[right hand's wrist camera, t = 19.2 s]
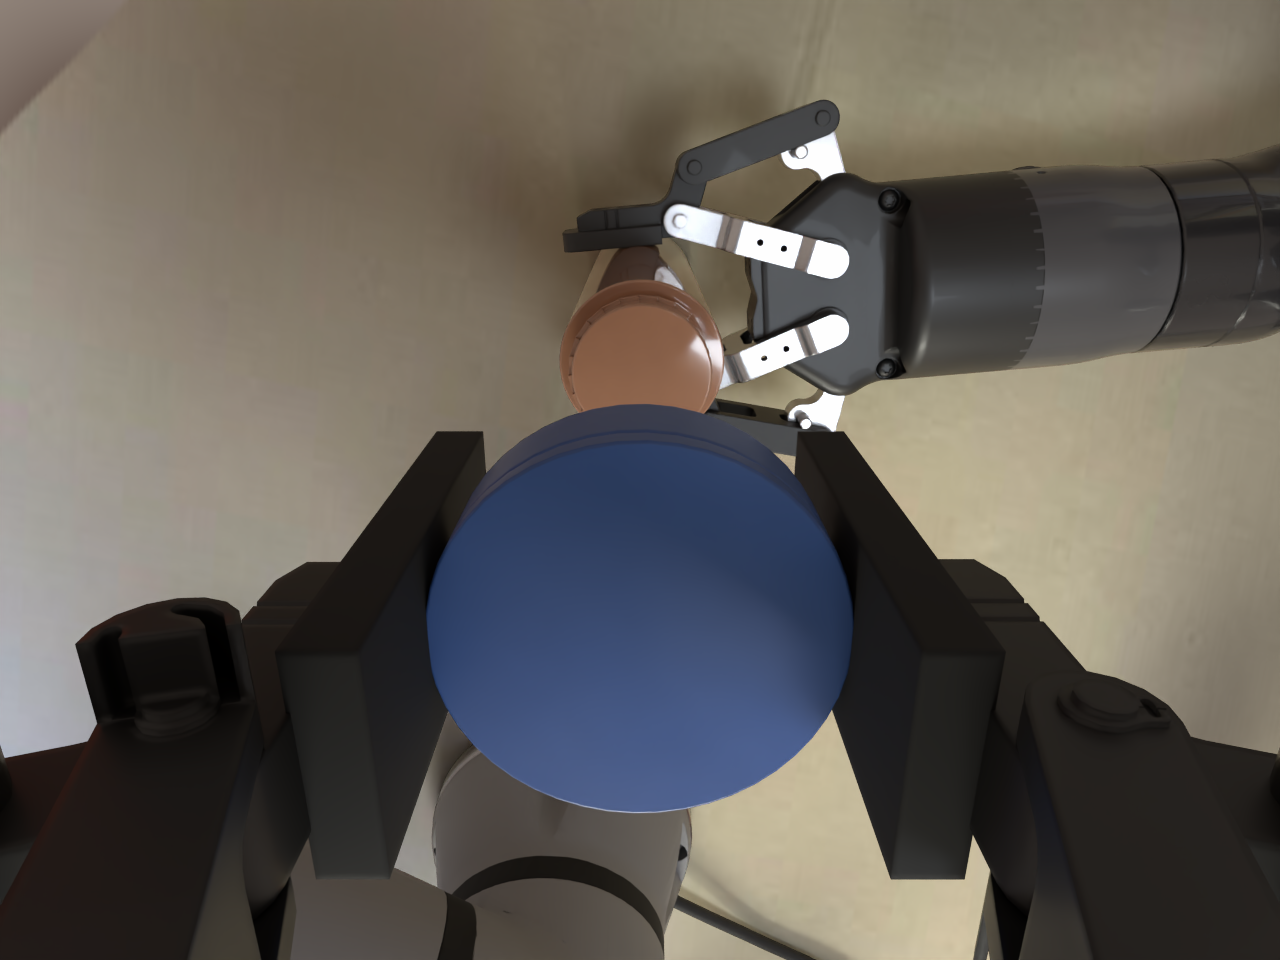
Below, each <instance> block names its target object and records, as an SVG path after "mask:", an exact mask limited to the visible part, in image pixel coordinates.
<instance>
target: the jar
mask: <svg viewBox="0 0 1280 960" xmlns="http://www.w3.org/2000/svg"><path fill="white" fill-rule="evenodd" d="M560 372H561V378H562V382H563V385H564V388H565V391H566V393H567V395H568V398H569V399H570V401H571V402H572V404H573V406H574V407H575V408H576V410H577V411H578V412H579V413H581V412H584V411H588V410H591V409H596V408H602V407H608V406H615V405H625V404H653V405H664V406H674V407H678V408H683V409H687V410H691V411H696V412H700V413H703V414H704V413H705V412H706V411H707V410H708V408H709V407H710V405H711V404H712V402H713V401H714V399H715V397H716V395H717V393H718V391H719V388H720V385H721V382H722V377H723V372H724V348H723V344H722V339H721V336H720V333H719V331H718V328H717V326H716V323H715V321H714V319H713V317H712V314H711V312H710V310H709V308H708V305H707V303H706V301H705V299H704V296H703V294H702V292H701V290H700V287H699V285H698V283H697V281H696V278H695V276H694V274H693V272H692V269H691V267H690V265H689V263H688V260H687V258H686V256H685V254H684V252H683V251H682V250H681V248H680V247H679V246H678V245H677V244H676V243H675V242H674V241H673V240H672V239H671V238H662V244H661V245H650V246H635V247H627V248H616V249H604V250H601V251H600V253H599V255H598V257H597V259H596V261H595V263H594V266H593V268H592V270H591V273H590V275H589V277H588V279H587V282H586V284H585V286H584V289H583V291H582V293H581V296H580V298H579V300H578V302H577V305H576V307H575V309H574V312H573V314H572V316H571V319H570V321H569V323H568V326H567V328H566V330H565V333H564V335H563V339H562V343H561V348H560Z"/></svg>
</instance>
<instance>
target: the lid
mask: <svg viewBox="0 0 1280 960" xmlns="http://www.w3.org/2000/svg"><path fill="white" fill-rule="evenodd" d="M426 621H427V632H428V642H429V651H430V660H431V668H432V674H433V678H434V681H435V684H436V687H437V689H438V691H439V693H440V695H441V698H442V700H443V702H444V704H445V706H446V708H447V710H448V711H449V713H450V714H451V716H452V717H453V719H454V721H455V722H456V724H457V725H458V727H459V728H460V729H461V731H462V732H463V733H464V734H465V735H466V736H467V738H468V739H469V740H470V741H471V742H472V744H473V745H474V746H475V747H476V748H477V749H478V750H479V751H480V752H482V753H483V754H484V755H485V756H486V757H487V758H488V759H489V760H490V761H491V762H492V763H494V764H495V765H496V766H498V767H499V768H501V769H502V770H503V771H505V772H506V773H508V774H509V775H510V776H512V777H513V778H515V779H517V780H519V781H520V782H522V783H524V784H526V785H528V786H529V787H531V788H533V789H535V790H537V791H540V792H542V793H544V794H547V795H549V796H551V797H554V798H556V799H559V800H562V801H566V802H569V803H572V804H576V805H579V806H582V807H588V808H593V809H598V810H604V811H612V812H624V813H659V812H667V811H675V810H682V809H687V808H692V807H696V806H700V805H704V804H708V803H711V802H714V801H717V800H720V799H723V798H725V797H728V796H731V795H734V794H736V793H738V792H740V791H742V790H744V789H746V788H748V787H750V786H752V785H754V784H756V783H758V782H759V781H761V780H762V779H764V778H766V777H767V776H769V775H770V774H772V773H774V772H775V771H777V770H778V769H779V768H780V767H782V766H783V765H784V764H785V763H787V762H788V761H789V760H790V759H791V758H793V757H794V756H795V755H796V754H797V753H798V752H799V751H800V750H801V749H802V748H803V747H804V746H805V745H806V744H807V743H808V742H809V741H810V740H811V739H812V738H813V736H814V735H815V734H816V732H817V731H818V730H819V728H820V727H821V726H822V724H823V723H824V721H825V720H826V719H827V717H828V715H829V714H830V712H831V710H832V708H833V706H834V705H835V703H836V701H837V699H838V697H839V695H840V692H841V690H842V687H843V684H844V682H845V679H846V676H847V674H848V669H849V664H850V655H851V646H852V636H853V626H854V611H853V600H852V596H851V592H850V587H849V583H848V579H847V575H846V573H845V570H844V568H843V565H842V563H841V561H840V558H839V556H838V553H837V551H836V549H835V547H834V545H833V543H832V541H831V539H830V537H829V535H828V533H827V531H826V529H825V527H824V525H823V523H822V521H821V519H820V517H819V515H818V513H817V511H816V509H815V507H814V505H813V503H812V501H811V500H810V498H809V496H808V495H807V493H806V491H805V489H804V488H803V486H802V484H801V483H800V482H799V481H798V479H797V478H796V477H795V476H794V474H793V473H792V472H791V471H790V469H789V468H788V467H787V466H786V465H785V464H784V463H783V462H782V461H781V460H780V459H779V458H778V457H777V456H776V455H775V454H774V453H773V452H772V451H770V450H769V449H768V448H767V447H766V446H764V445H763V444H761V443H760V442H759V441H757V440H756V439H754V438H753V437H752V436H750V435H749V434H747V433H745V432H743V431H742V430H740V429H738V428H736V427H734V426H732V425H730V424H728V423H726V422H724V421H722V420H719V419H716V418H714V417H711V416H708V415H705V414H703V413H700V412H696V411H691V410H687V409H683V408H678V407H674V406H664V405H653V404H625V405H615V406H608V407H602V408H596V409H591V410H588V411H584V412H581V413H577V414H574V415H571V416H567V417H565V418H563V419H561V420H558V421H556V422H554V423H552V424H549V425H547V426H545V427H543V428H541V429H540V430H538V431H536V432H535V433H533V434H531V435H530V436H528V437H526V438H525V439H523V440H522V441H520V442H519V443H518V444H517V445H515V446H514V447H513V448H512V449H511V450H509V451H508V452H507V453H506V454H504V455H503V456H502V457H501V458H500V459H499V460H498V461H497V462H496V463H495V465H494V466H493V467H492V468H491V469H490V470H489V471H488V472H487V473H486V474H485V476H484V477H483V479H482V480H481V481H480V483H479V484H478V486H477V487H476V489H475V490H474V491H473V493H472V495H471V497H470V499H469V501H468V503H467V505H466V507H465V509H464V511H463V513H462V515H461V517H460V519H459V521H458V523H457V525H456V527H455V529H454V531H453V533H452V535H451V537H450V539H449V541H448V543H447V545H446V547H445V549H444V551H443V553H442V555H441V557H440V559H439V561H438V563H437V566H436V569H435V572H434V575H433V578H432V581H431V584H430V587H429V593H428V599H427V605H426Z"/></svg>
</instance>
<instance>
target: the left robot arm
mask: <svg viewBox="0 0 1280 960" xmlns="http://www.w3.org/2000/svg"><path fill="white" fill-rule="evenodd" d="M839 120H840V114H839V110H838V108H837V106H836V105H835V104H834V103H833V102H831V101H828V100H819V101H816V102H813V103H810V104H806V105H804V106H801V107H798V108H796V109H793V110H791V111H788V112H786V113H783V114H780V115H778V116H775V117H773V118H770V119H767V120H765V121H762V122H760V123H757V124H755V125H752V126H749V127H747V128H744V129H742V130H739V131H736V132H734V133H731V134H729V135H726V136H724V137H721V138H718V139H716V140H713V141H711V142H708V143H705V144H703V145H700V146H698V147H695V148H693V149H690V150H687V151H685V152H683V153H682V154H681V155H680V156H679V157H678V159H677V161H676V165H675V170H674V174H673V178H672V181H671V185H670V188H669V191H668V193H667V195H666V196H665V197H664V198H663V199H662V200H660V201H658V202H656V203H652V204H641V205H630V206H619V207H608V208H597V209H591V210H589V211H587V212H585V213H583V214H581V215H579V216H578V217H577V225H578V228H577V229H569V230H565V231H564V232H563V241H564V250H565V252H582V251H593V250H604V249H616V248H627V247H635V246H650V245H661V244H662V238H672V237H676V238H680V239H684V240H688V241H692V242H695V243H699V244H703V245H707V246H711V247H715V248H719V249H722V250H724V251H727V252H730V253H734V254H738V255H742V256H745V272H746V276H747V279H748V282H749V285H750V288H751V295H750V299H749V304H748V308H747V326H748V327H747V328H744V329H742V330H740V331H737V332H735V333H733V334H730V335H728V336H726V337H725V338H723V339H722V344H723V348H724V372H723V377H722V382H721V385H720V388H719V390H720V389H722V388H724V387H727V386H729V385H731V384H734V383H743V382H747V381H750V380H752V379H755V378H757V377H760V376H762V375H764V374H767V373H769V372H771V371H774V370H776V369H779V368H781V367H784V368H786V369H787V370H789V371H791V372H792V373H794V374H796V375H797V376H799V377H800V378H802V379H804V380H805V381H807V382H809V383H810V384H812V385H814V386H815V387H817V388H818V390H817V392H816V393H815V394H814V395H813V396H811V397H809V398H806V399H795V400H792V401H791V402H790V403H789V404H788V405H787V406H786V408H785V410H781V409H775V408H769V407H763V406H757V405H752V404H746V403H740V402H734V401H728V400H722V399H717V398H715V399H714V401H713V402H712V404H711V405H710V407H709V408H708V410H707V411H706V412H705V413H704V414H705V415H708V416H711V417H714V418H716V419H719V420H722V421H724V422H726V423H728V424H730V425H732V426H734V427H736V428H738V429H740V430H742V431H743V432H745V433H747V434H749V435H750V436H752V437H753V438H754V439H756V440H757V441H759V442H760V443H761V444H763V445H764V446H766V447H767V448H768V449H769V450H770V451H772V452H773V453H779V454H784V455H790V456H796V446H797V432H798V431H836V427H837V423H838V420H839V416H840V412H841V409H842V405H843V401H844V398H845V396H846V395H850V394H852V393H854V392H856V391H858V390H859V389H861V388H862V387H864V386H866V385H868V384H870V383H873V382H876V381H880V380H893V379H906V378H918V377H930V376H942V375H954V374H966V373H977V372H989V371H1001V370H1012V369H1025V368H1037V367H1048V366H1059V365H1068V364H1076V363H1082V362H1087V361H1092V360H1096V359H1100V358H1104V357H1109V356H1114V355H1119V354H1127V353H1139V352H1151V351H1162V350H1174V349H1186V348H1196V347H1208V346H1222V345H1231V344H1239V343H1245V342H1250V341H1255V340H1259V339H1263V338H1266V337H1269V336H1271V335H1274V334H1276V333H1278V332H1280V144H1278V145H1275V146H1272V147H1268V148H1265V149H1262V150H1259V151H1256V152H1252V153H1249V154H1245V155H1242V156H1238V157H1234V158H1225V159H1212V160H1199V161H1188V162H1177V163H1166V164H1155V165H1144V166H1129V167H1112V166H1095V165H1067V166H1056V167H1044V168H1041V167H1034V166H1026V167H1020V168H1016V169H1013V170H1012V171H1001V172H990V173H980V174H968V175H957V176H946V177H935V178H924V179H913V180H902V181H891V182H875V183H874V182H870V181H867V180H864V179H862V178H860V177H859V176H857V175H854V174H851V173H845V169H844V165H843V161H842V157H841V153H840V149H839V146H838V142H837V138H836V134H835V129H836V128H837V126H838V124H839ZM775 155H778V158H779V161H780V163H781V164H782V165H783V166H784V167H786V168H789V169H802V168H806V169H809V170H811V171H812V172H813V173H814V175H815V176H816V179H817V180H816V181H815V182H814V183H813V184H812V185H811V186H809V187H808V188H807V189H806V190H805V191H804V192H802V193H801V194H800V195H799V196H798V197H797V198H795V199H794V200H793V201H792V202H791V203H790V204H789V205H787V206H786V207H785V208H784V209H783V210H782V211H780V212H779V213H778V214H777V215H776V216H775V217H773V218H772V219H771V220H770V221H769V222H768V223H766V222H762V221H758V220H754V219H750V218H746V217H743V216H739V215H735V214H731V213H727V212H722V211H718V210H714V209H710V208H706V207H702V206H700V204H701V201H702V197H703V194H704V190H705V187H706V183H707V181H710V180H712V179H715V178H718V177H720V176H723V175H726V174H728V173H731V172H733V171H736V170H739V169H741V168H744V167H747V166H749V165H752V164H754V163H757V162H760V161H762V160H765V159H768V158H770V157H773V156H775ZM752 340H753V341H754V343H752ZM763 355H765V358H761V357H762V356H763Z"/></svg>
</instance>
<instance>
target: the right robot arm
mask: <svg viewBox="0 0 1280 960" xmlns="http://www.w3.org/2000/svg"><path fill="white" fill-rule="evenodd" d="M485 474H486V467H485V453H484V439H483V431H437V432H436V433H435V435H434V436H433V437H432V439H431V440H430V441H429V443H428V444H427V445H426V447H425V448H424V450H423V451H422V452H421V454H420V455H419V456H418V458H417V459H416V460H415V462H414V463H413V464H412V466H411V467H410V469H409V470H408V471H407V473H406V474H405V475H404V477H403V478H402V479H401V481H400V482H399V483H398V485H397V486H396V488H395V489H394V490H393V492H392V493H391V494H390V496H389V497H388V498H387V500H386V501H385V502H384V504H383V505H382V506H381V508H380V509H379V511H378V512H377V513H376V515H375V516H374V517H373V519H372V520H371V521H370V523H369V524H368V525H367V527H366V528H365V530H364V531H363V532H362V534H361V535H360V536H359V538H358V539H357V540H356V542H355V543H354V544H353V546H352V547H351V548H350V550H349V551H348V553H347V554H346V555H345V557H344V558H343V559H342V561H341V562H306V563H305V564H303V565H301V566H300V567H298V568H296V569H294V570H293V571H291V572H289V573H288V574H286V575H284V576H282V577H281V578H279V579H277V580H276V581H275V582H274V583H273V584H272V585H271V586H270V588H269V589H268V590H267V591H266V592H265V593H264V595H263V596H262V597H261V598H260V599H259V600H258V602H257V606H253V607H252V609H251V610H250V611H249V612H248V613H247V614H246V616H245V617H244V618H243V619H242V623H241V618H240V613H239V610H237V609H236V608H235V607H233V606H232V605H230V604H229V603H228V602H225V601H220V600H215V599H210V598H177V599H171V600H166V601H161V602H156V603H151V604H146V605H143V606H140V607H137V608H134V609H132V610H129V611H126V612H123V613H120V614H117V615H115V616H113V617H112V618H110V619H108V620H106V621H104V622H102V623H101V624H99V625H97V626H95V627H93V628H92V629H90V630H89V631H88V632H87V633H86V634H85V635H84V636H83V637H82V638H81V639H80V640H79V641H78V642H77V643H76V644H75V645H76V649H77V653H78V656H79V660H80V663H81V667H82V670H83V674H84V678H85V681H86V685H87V688H88V692H89V695H90V699H91V703H92V706H93V710H94V713H95V717H96V721H97V725H96V727H95V729H94V731H93V733H92V734H91V736H90V738H89V740H88V741H87V742H83V743H79V744H75V745H70V746H65V747H59V748H54V749H49V750H44V751H39V752H34V753H28V754H23V755H18V756H13V757H8V758H4V755H3V752H2V749H1V746H0V960H664V934H665V931H666V928H667V925H668V922H669V919H670V916H671V914H672V911H673V908H675V909H678V910H680V911H682V912H684V913H686V914H688V915H690V916H692V917H694V918H696V919H699V920H701V921H703V922H705V923H707V924H709V925H711V926H714V927H716V928H718V929H720V930H722V931H725V932H727V933H729V934H731V935H734V936H736V937H738V938H740V939H742V940H744V941H747V942H749V943H751V944H753V945H755V946H757V947H759V948H762V949H764V950H766V951H768V952H770V953H773V954H775V955H777V956H779V957H782V958H784V959H786V960H815V959H813V958H811V957H809V956H807V955H805V954H803V953H800V952H798V951H796V950H794V949H792V948H789V947H787V946H785V945H783V944H780V943H778V942H776V941H774V940H771V939H769V938H767V937H765V936H763V935H761V934H759V933H756V932H754V931H752V930H750V929H748V928H746V927H744V926H742V925H739V924H737V923H735V922H733V921H731V920H728V919H726V918H724V917H722V916H720V915H718V914H716V913H713V912H711V911H709V910H707V909H705V908H703V907H701V906H699V905H697V904H695V903H692V902H690V901H688V900H686V899H684V898H682V897H680V896H678V893H679V890H680V887H681V883H682V881H683V879H684V876H685V873H686V870H687V867H688V862H689V857H690V850H691V842H692V827H691V814H690V808H687V809H682V810H675V811H667V812H659V813H624V812H612V811H604V810H598V809H593V808H588V807H582V806H579V805H576V804H572V803H569V802H566V801H562V800H559V799H556V798H554V797H551V796H549V795H547V794H544V793H542V792H540V791H537V790H535V789H533V788H531V787H529V786H528V785H526V784H524V783H522V782H520V781H519V780H517V779H515V778H513V777H512V776H510V775H509V774H508V773H506V772H505V771H503V770H502V769H501V768H499V767H498V766H496V765H495V764H494V763H492V762H491V761H490V760H489V759H488V758H487V757H486V756H485V755H484V754H483V753H482V752H480V751H479V750H478V749H477V748H476V747H475V746H474V745H472V746H470V747H469V748H468V749H467V750H466V751H465V752H464V753H463V754H462V755H461V756H460V757H459V758H458V760H457V761H456V762H455V763H454V765H453V766H452V768H451V769H450V771H449V772H448V774H447V776H446V778H445V781H444V783H443V786H442V789H441V792H440V795H439V798H438V801H437V804H436V807H435V812H434V817H433V828H432V848H433V855H434V861H435V865H436V869H437V885H438V888H437V887H435V886H433V885H431V884H429V883H427V882H424V881H422V880H420V879H418V878H416V877H414V876H411V875H409V874H407V873H405V872H403V871H401V870H398V869H396V868H394V865H395V862H396V860H397V857H398V854H399V851H400V848H401V845H402V842H403V839H404V836H405V834H406V831H407V828H408V825H409V822H410V819H411V816H412V813H413V810H414V808H415V805H416V802H417V799H418V796H419V793H420V790H421V787H422V784H423V782H424V779H425V776H426V773H427V770H428V767H429V764H430V761H431V758H432V756H433V753H434V750H435V747H436V744H437V741H438V738H439V735H440V732H441V730H442V727H443V724H444V721H445V718H446V715H447V712H448V710H447V708H446V706H445V704H444V702H443V700H442V698H441V695H440V693H439V691H438V689H437V687H436V684H435V681H434V678H433V674H432V668H431V660H430V651H429V642H428V632H427V621H426V605H427V599H428V593H429V587H430V584H431V581H432V578H433V575H434V572H435V569H436V566H437V563H438V561H439V559H440V557H441V555H442V553H443V551H444V549H445V547H446V545H447V543H448V541H449V539H450V537H451V535H452V533H453V531H454V529H455V527H456V525H457V523H458V521H459V519H460V517H461V515H462V513H463V511H464V509H465V507H466V505H467V503H468V501H469V499H470V497H471V495H472V493H473V491H474V490H475V489H476V487H477V486H478V484H479V483H480V481H481V480H482V479H483V477H484V476H485ZM794 476H795V477H796V478H797V479H798V481H799V482H800V483H801V484H802V486H803V488H804V489H805V491H806V493H807V495H808V496H809V498H810V500H811V501H812V503H813V505H814V507H815V509H816V511H817V513H818V515H819V517H820V519H821V521H822V523H823V525H824V527H825V529H826V531H827V533H828V535H829V537H830V539H831V541H832V543H833V545H834V547H835V549H836V551H837V553H838V556H839V558H840V561H841V563H842V565H843V568H844V570H845V573H846V575H847V579H848V583H849V587H850V592H851V596H852V600H853V611H854V626H853V636H852V646H851V655H850V664H849V669H848V674H847V676H846V679H845V682H844V684H843V687H842V690H841V692H840V695H839V697H838V699H837V701H836V703H835V705H834V706H833V708H832V711H833V714H834V716H835V719H836V722H837V725H838V728H839V731H840V734H841V737H842V740H843V742H844V745H845V748H846V751H847V754H848V757H849V760H850V763H851V766H852V768H853V771H854V774H855V777H856V780H857V783H858V786H859V789H860V792H861V794H862V797H863V800H864V803H865V806H866V809H867V812H868V815H869V818H870V820H871V823H872V826H873V829H874V832H875V835H876V838H877V841H878V844H879V846H880V849H881V852H882V855H883V858H884V861H885V864H886V867H887V870H888V872H889V875H890V878H891V879H965V874H966V869H967V863H968V858H969V852H970V847H971V841H972V836H974V838H975V840H976V842H977V844H978V846H979V848H980V850H981V852H982V854H983V856H984V858H985V860H986V862H987V864H988V866H989V868H990V874H989V879H988V884H987V889H986V895H985V900H984V905H983V910H982V915H981V920H980V925H979V930H978V935H977V941H976V946H975V952H974V959H973V960H986V959H987V954H988V951H989V955H990V960H1280V749H1279V752H1278V754H1273V753H1267V752H1262V751H1257V750H1252V749H1247V748H1241V747H1236V746H1231V745H1226V744H1221V743H1215V742H1210V741H1205V740H1201V739H1197V738H1193V737H1190V735H1189V733H1188V731H1187V729H1186V727H1185V725H1184V723H1183V722H1182V721H1181V720H1180V718H1179V717H1178V716H1177V715H1176V714H1175V713H1174V711H1173V710H1172V709H1171V708H1170V707H1169V706H1168V705H1167V704H1166V703H1164V702H1163V701H1161V700H1160V699H1158V698H1157V697H1155V696H1154V695H1152V694H1151V693H1149V692H1148V691H1146V690H1144V689H1142V688H1140V687H1137V686H1135V685H1132V684H1130V683H1128V682H1125V681H1123V680H1120V679H1118V678H1115V677H1111V676H1106V675H1102V674H1097V673H1093V672H1088V671H1086V670H1085V669H1084V668H1083V666H1082V665H1081V664H1080V663H1079V662H1078V661H1077V660H1076V658H1075V657H1074V656H1073V655H1072V654H1071V653H1070V651H1069V650H1068V649H1067V648H1066V647H1065V646H1064V645H1063V643H1062V642H1061V641H1060V640H1059V639H1058V638H1057V636H1056V635H1055V634H1054V633H1053V632H1052V631H1051V630H1050V628H1049V627H1048V626H1047V625H1046V624H1045V623H1044V622H1040V619H1039V618H1040V617H1039V616H1038V615H1037V613H1036V612H1035V611H1034V610H1033V609H1032V608H1031V606H1030V605H1029V604H1028V603H1024V598H1023V597H1022V596H1021V595H1020V594H1019V593H1018V591H1017V590H1016V589H1015V588H1014V587H1013V586H1012V585H1011V583H1010V582H1009V581H1008V580H1007V579H1006V578H1005V577H1004V576H1002V575H1000V574H998V573H997V572H995V571H993V570H992V569H990V568H988V567H986V566H985V565H983V564H981V563H980V562H978V561H976V560H974V559H937V557H936V556H935V554H934V553H933V552H932V550H931V549H930V548H929V546H928V545H927V544H926V542H925V541H924V540H923V538H922V537H921V535H920V534H919V533H918V531H917V530H916V529H915V527H914V526H913V525H912V523H911V522H910V521H909V519H908V518H907V517H906V515H905V514H904V512H903V511H902V510H901V508H900V507H899V506H898V504H897V503H896V502H895V500H894V499H893V498H892V496H891V495H890V493H889V492H888V491H887V489H886V488H885V487H884V485H883V484H882V483H881V481H880V480H879V479H878V477H877V476H876V475H875V473H874V472H873V470H872V469H871V468H870V466H869V465H868V464H867V462H866V461H865V460H864V458H863V457H862V456H861V454H860V453H859V452H858V450H857V449H856V447H855V446H854V445H853V443H852V442H851V441H850V439H849V438H848V437H847V435H846V434H845V433H844V431H798V432H797V446H796V461H795V475H794Z"/></svg>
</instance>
